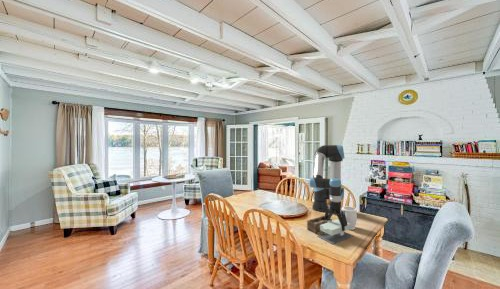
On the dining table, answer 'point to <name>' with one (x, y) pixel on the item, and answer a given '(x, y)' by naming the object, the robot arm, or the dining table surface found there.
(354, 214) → the jar
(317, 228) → the box
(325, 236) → the mat
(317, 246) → the dining table surface
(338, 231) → the lid
